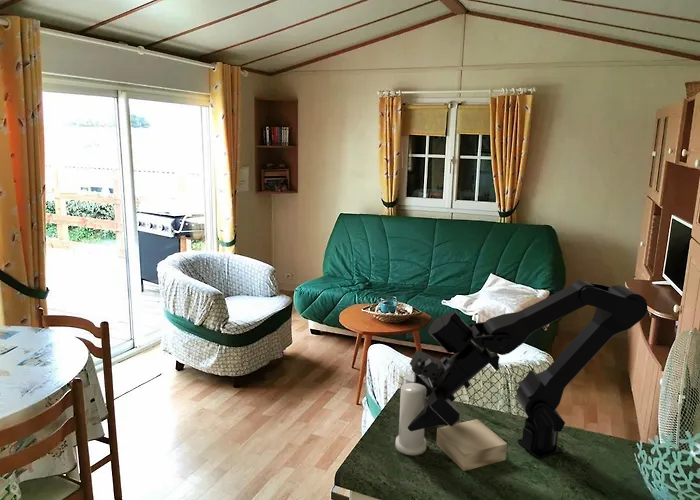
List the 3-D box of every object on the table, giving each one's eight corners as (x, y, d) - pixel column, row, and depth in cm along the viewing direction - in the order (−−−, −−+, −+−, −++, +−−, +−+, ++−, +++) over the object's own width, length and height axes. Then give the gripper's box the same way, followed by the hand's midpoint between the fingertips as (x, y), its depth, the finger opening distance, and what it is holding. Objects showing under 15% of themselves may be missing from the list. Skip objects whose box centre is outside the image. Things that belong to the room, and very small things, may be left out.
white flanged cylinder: (416, 435, 116) (419, 379, 113) (432, 451, 110) (435, 393, 108) (390, 441, 114) (392, 384, 111) (404, 458, 108) (407, 398, 105)
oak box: (475, 435, 117) (477, 419, 116) (505, 461, 108) (507, 443, 107) (436, 445, 113) (437, 427, 113) (463, 472, 104) (464, 454, 104)
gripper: (426, 324, 116) (374, 371, 118) (446, 360, 98) (383, 415, 100) (460, 358, 118) (408, 404, 120) (485, 399, 100) (423, 453, 102)
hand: (405, 417), depth 111 cm, fingers open, 9 cm apart
